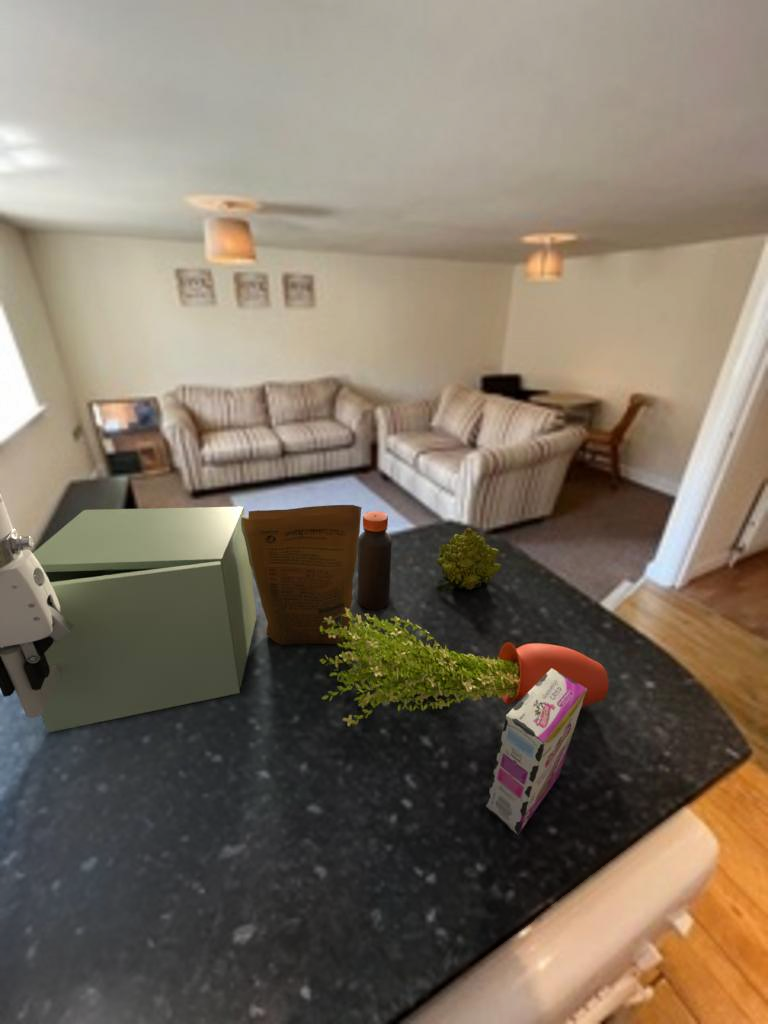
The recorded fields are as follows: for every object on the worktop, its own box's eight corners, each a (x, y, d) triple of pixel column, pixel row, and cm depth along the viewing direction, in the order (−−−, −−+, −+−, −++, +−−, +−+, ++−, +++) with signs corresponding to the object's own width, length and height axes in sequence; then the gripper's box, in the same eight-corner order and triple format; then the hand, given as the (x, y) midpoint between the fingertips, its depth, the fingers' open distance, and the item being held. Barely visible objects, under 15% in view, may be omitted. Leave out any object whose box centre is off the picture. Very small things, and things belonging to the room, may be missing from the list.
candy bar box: (519, 839, 53) (544, 744, 46) (484, 808, 56) (502, 715, 50) (562, 777, 60) (589, 687, 54) (528, 752, 64) (550, 665, 57)
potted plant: (552, 672, 86) (316, 649, 81) (576, 611, 80) (325, 583, 75) (601, 764, 68) (304, 742, 63) (637, 694, 62) (314, 664, 58)
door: (240, 729, 66) (219, 593, 56) (29, 777, 58) (-40, 630, 48) (239, 688, 73) (220, 560, 62) (50, 727, 65) (-6, 589, 55)
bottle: (366, 614, 91) (368, 526, 83) (352, 596, 96) (352, 512, 88) (395, 604, 94) (399, 519, 86) (379, 588, 100) (381, 506, 91)
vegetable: (433, 590, 93) (449, 520, 94) (424, 587, 108) (438, 527, 110) (502, 607, 92) (517, 537, 94) (484, 602, 108) (497, 541, 110)
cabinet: (240, 687, 73) (221, 558, 63) (66, 699, 70) (17, 565, 60) (256, 618, 89) (243, 506, 79) (116, 624, 86) (84, 509, 76)
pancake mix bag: (360, 650, 82) (361, 511, 70) (254, 652, 80) (237, 511, 69) (360, 626, 88) (361, 494, 76) (262, 627, 87) (247, 494, 75)
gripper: (71, 527, 52) (107, 649, 60) (-106, 547, 47) (-42, 678, 55) (54, 559, 46) (96, 691, 54) (-154, 586, 41) (-73, 728, 48)
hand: (26, 683), depth 54 cm, fingers closed on door, 2 cm apart
